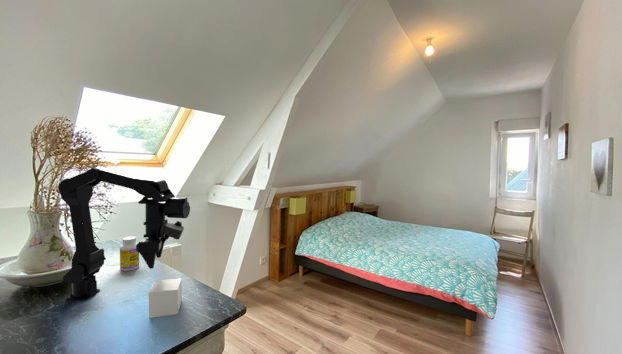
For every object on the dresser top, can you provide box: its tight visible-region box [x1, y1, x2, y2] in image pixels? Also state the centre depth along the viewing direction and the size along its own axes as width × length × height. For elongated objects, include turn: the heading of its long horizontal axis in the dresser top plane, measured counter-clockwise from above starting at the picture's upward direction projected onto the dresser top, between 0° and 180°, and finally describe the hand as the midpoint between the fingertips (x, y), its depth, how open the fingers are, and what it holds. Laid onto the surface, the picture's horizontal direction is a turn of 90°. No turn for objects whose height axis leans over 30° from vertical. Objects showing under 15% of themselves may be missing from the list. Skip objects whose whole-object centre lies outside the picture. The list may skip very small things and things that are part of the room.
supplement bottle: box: [119, 235, 140, 272], centre depth 113 cm, size 7×7×13 cm
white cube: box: [148, 277, 183, 319], centre depth 84 cm, size 8×8×8 cm
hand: (155, 262), depth 91 cm, fingers open, 9 cm apart
